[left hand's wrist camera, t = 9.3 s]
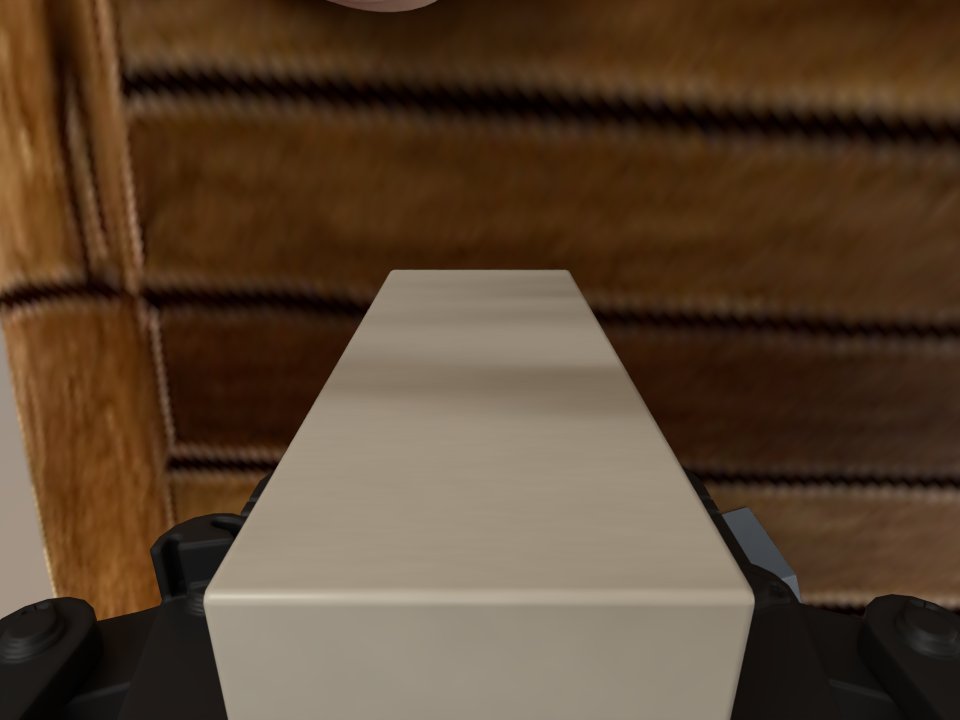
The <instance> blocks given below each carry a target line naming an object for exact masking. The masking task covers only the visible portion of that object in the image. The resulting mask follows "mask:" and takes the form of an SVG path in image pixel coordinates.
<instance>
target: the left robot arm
mask: <svg viewBox="0 0 960 720" xmlns="http://www.w3.org/2000/svg"><path fill="white" fill-rule="evenodd" d="M680 465H681V464H680ZM681 467H682V469H683V471H684V472H685V474H686V476H687V477H688V479H689V481H690V483H691V484H692V486H693V488H694V490H695V491H696V493H697V495H698V497H699V498H700V500H701V502H702V504H703V505H704V507H705V509H706V510H707V512H708V514H709V516H710V517H711V519H712V521H713V523H714V524H715V526H716V528H717V530H718V531H719V533H720V535H721V537H722V538H723V540H724V542H725V544H726V545H727V547H728V549H729V550H730V552H731V554H732V556H733V557H734V559H735V561H736V563H737V564H738V566H739V568H740V570H741V571H742V573H743V575H744V577H745V578H746V580H747V582H748V583H749V585H750V587H751V589H752V591H753V594H754V597H755V605H754V610H753V615H752V619H751V624H750V629H749V634H748V638H747V643H746V648H745V652H744V657H743V662H742V666H741V671H740V676H739V680H738V685H737V690H736V695H735V699H734V704H733V709H732V713H731V718H730V720H960V617H959V616H958V615H956V614H954V613H952V612H950V611H948V610H947V609H945V608H943V607H941V606H939V605H937V604H935V603H932V602H928V601H925V600H922V599H919V598H916V597H913V596H904V595H895V594H890V595H885V596H880V597H876V598H875V599H874V600H872V601H871V602H870V603H869V604H868V605H867V607H866V610H865V614H864V617H863V619H862V618H857V617H853V616H849V615H844V614H840V613H835V612H831V611H827V610H822V609H818V608H815V607H812V606H808V605H805V604H802V603H800V602H799V600H798V598H797V597H796V595H795V594H794V592H793V591H792V589H791V588H790V586H789V585H788V584H787V583H785V582H784V581H783V580H782V579H780V578H779V577H778V576H777V575H776V574H774V573H772V572H770V571H768V570H766V569H764V568H762V567H760V566H758V565H755V564H751V562H750V561H749V559H748V557H747V556H746V554H745V552H744V551H743V549H742V547H741V546H740V544H739V542H738V541H737V539H736V538H735V536H734V534H733V533H732V531H731V529H730V528H729V526H728V524H727V523H726V521H725V519H724V518H723V516H722V515H721V514H719V510H718V508H717V506H716V505H715V503H714V501H713V500H711V499H710V495H709V493H708V492H707V490H706V488H705V487H704V485H703V483H702V482H701V480H700V479H699V478H698V477H697V476H695V475H694V474H693V473H691V472H690V471H689V470H687V469H686V468H685V467H683V466H682V465H681ZM275 470H276V469H275ZM275 470H274V471H273V472H271V473H270V474H269V475H267V476H266V477H265V478H263V479H262V480H261V481H260V482H259V483H258V485H257V487H256V488H255V490H254V492H253V493H252V495H251V497H250V500H249V502H247V503H246V505H245V507H244V508H243V510H242V512H241V516H240V515H236V514H233V513H214V514H209V515H205V516H200V517H195V518H192V519H190V520H188V521H185V522H183V523H181V524H178V525H176V526H174V527H173V528H171V529H170V530H169V531H167V532H166V533H164V534H163V535H162V536H160V537H159V538H158V540H157V541H156V542H155V544H154V545H153V546H152V548H151V549H150V553H151V557H152V561H153V565H154V569H155V573H156V577H157V581H158V585H159V589H160V594H161V598H162V601H161V604H160V605H159V606H156V607H153V608H150V609H147V610H143V611H140V612H135V613H131V614H127V615H122V616H118V617H114V618H109V619H105V620H101V621H97V619H96V615H95V612H94V609H93V608H92V607H91V606H90V605H89V604H88V603H87V602H86V601H85V600H82V599H77V598H72V597H62V598H53V599H46V600H44V601H40V602H37V603H34V604H31V605H28V606H25V607H23V608H21V609H19V610H17V611H15V612H13V613H11V614H10V615H8V616H6V617H4V618H2V619H1V620H0V720H228V716H227V712H226V707H225V702H224V698H223V693H222V688H221V684H220V679H219V674H218V670H217V665H216V660H215V656H214V651H213V647H212V642H211V637H210V633H209V628H208V623H207V619H206V614H205V609H204V605H203V601H204V594H205V591H206V589H207V587H208V585H209V584H210V582H211V580H212V579H213V577H214V575H215V573H216V572H217V570H218V568H219V566H220V565H221V563H222V561H223V560H224V558H225V556H226V554H227V553H228V551H229V549H230V548H231V546H232V544H233V542H234V541H235V539H236V537H237V535H238V534H239V532H240V530H241V529H242V527H243V525H244V523H245V522H246V520H247V518H248V517H249V515H250V513H251V511H252V510H253V508H254V506H255V504H256V503H257V501H258V499H259V498H260V496H261V494H262V492H263V491H264V489H265V487H266V486H267V484H268V482H269V480H270V479H271V477H272V475H273V473H274V472H275Z"/></svg>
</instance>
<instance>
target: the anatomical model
mask: <svg viewBox="0 0 960 720" xmlns="http://www.w3.org/2000/svg"><path fill="white" fill-rule="evenodd" d="M327 1H331V2H334V3H337V4H340V5H344V6H347V7H351V8H356V9H361V10H368V11H377V12H398V11H407V10H413V9H416V8H420V7H424V6H426V5H429V4H431V3H433V2H435V1H437V0H327Z"/></svg>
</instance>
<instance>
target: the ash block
mask: <svg viewBox="0 0 960 720" xmlns="http://www.w3.org/2000/svg"><path fill="white" fill-rule="evenodd" d="M203 605H204V609H205V614H206V619H207V623H208V628H209V633H210V637H211V642H212V647H213V651H214V656H215V660H216V665H217V670H218V674H219V679H220V684H221V688H222V693H223V698H224V702H225V707H226V712H227V716H228V720H730V718H731V713H732V709H733V704H734V699H735V695H736V690H737V685H738V680H739V676H740V671H741V666H742V662H743V657H744V652H745V648H746V643H747V638H748V634H749V629H750V624H751V619H752V615H753V610H754V605H755V597H754V594H753V591H752V589H751V587H750V585H749V583H748V582H747V580H746V578H745V577H744V575H743V573H742V571H741V570H740V568H739V566H738V564H737V563H736V561H735V559H734V557H733V556H732V554H731V552H730V550H729V549H728V547H727V545H726V544H725V542H724V540H723V538H722V537H721V535H720V533H719V531H718V530H717V528H716V526H715V524H714V523H713V521H712V519H711V517H710V516H709V514H708V512H707V510H706V509H705V507H704V505H703V504H702V502H701V500H700V498H699V497H698V495H697V493H696V491H695V490H694V488H693V486H692V484H691V483H690V481H689V479H688V477H687V476H686V474H685V472H684V471H683V469H682V467H681V465H680V464H679V462H678V460H677V458H676V457H675V455H674V453H673V451H672V450H671V448H670V446H669V444H668V443H667V441H666V439H665V438H664V436H663V434H662V432H661V431H660V429H659V427H658V425H657V424H656V422H655V420H654V418H653V417H652V415H651V413H650V411H649V410H648V408H647V406H646V405H645V403H644V401H643V399H642V398H641V396H640V394H639V392H638V391H637V389H636V387H635V385H634V384H633V382H632V380H631V378H630V377H629V375H628V373H627V371H626V370H625V368H624V366H623V365H622V363H621V361H620V359H619V358H618V356H617V354H616V352H615V351H614V349H613V347H612V345H611V344H610V342H609V340H608V338H607V337H606V335H605V333H604V332H603V330H602V328H601V326H600V325H599V323H598V321H597V319H596V318H595V316H594V314H593V312H592V311H591V309H590V307H589V305H588V304H587V302H586V300H585V299H584V297H583V295H582V293H581V292H580V290H579V288H578V286H577V285H576V283H575V281H574V279H573V278H572V276H571V274H570V272H569V271H567V270H393V271H391V272H390V274H389V276H388V277H387V279H386V281H385V282H384V284H383V286H382V288H381V289H380V291H379V293H378V294H377V296H376V298H375V300H374V301H373V303H372V305H371V306H370V308H369V310H368V312H367V313H366V315H365V317H364V319H363V320H362V322H361V324H360V325H359V327H358V329H357V331H356V332H355V334H354V336H353V337H352V339H351V341H350V343H349V344H348V346H347V348H346V350H345V351H344V353H343V355H342V356H341V358H340V360H339V362H338V363H337V365H336V367H335V368H334V370H333V372H332V374H331V375H330V377H329V379H328V381H327V382H326V384H325V386H324V387H323V389H322V391H321V393H320V394H319V396H318V398H317V399H316V401H315V403H314V405H313V406H312V408H311V410H310V412H309V413H308V415H307V417H306V418H305V420H304V422H303V424H302V425H301V427H300V429H299V430H298V432H297V434H296V436H295V437H294V439H293V441H292V443H291V444H290V446H289V448H288V449H287V451H286V453H285V455H284V456H283V458H282V460H281V461H280V463H279V465H278V467H277V468H276V470H275V472H274V473H273V475H272V477H271V479H270V480H269V482H268V484H267V486H266V487H265V489H264V491H263V492H262V494H261V496H260V498H259V499H258V501H257V503H256V504H255V506H254V508H253V510H252V511H251V513H250V515H249V517H248V518H247V520H246V522H245V523H244V525H243V527H242V529H241V530H240V532H239V534H238V535H237V537H236V539H235V541H234V542H233V544H232V546H231V548H230V549H229V551H228V553H227V554H226V556H225V558H224V560H223V561H222V563H221V565H220V566H219V568H218V570H217V572H216V573H215V575H214V577H213V579H212V580H211V582H210V584H209V585H208V587H207V589H206V591H205V594H204V601H203Z"/></svg>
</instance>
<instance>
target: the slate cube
mask: <svg viewBox="0 0 960 720" xmlns="http://www.w3.org/2000/svg"><path fill="white" fill-rule="evenodd" d="M721 515H722V516H723V518H724V519H725V521H726V523H727V524H728V526H729V528H730V529H731V531H732V533H733V534H734V536H735V538H736V539H737V541H738V542H739V544H740V546H741V547H742V549H743V551H744V552H745V554H746V556H747V557H748V559H749V561H750V562H751V564H755V565H758V566H760V567H762V568H764V569H766V570H768V571H770V572H772V573H774V574H776V575H777V576H778V577H779V578H780V579H782V580H783V581H784V582H785V583H787V584H788V585H789V586H790V588H791V589H792V591H793V592H794V594H795V595H796V597H797V598H798V600H799V602H800V603H802V601H801V596H800V591H799V587H798V582H797V577H796V575H795V573H794V572H793V570H792V569H791V567H790V566H789V564H788V563H787V562H786V560H785V559H784V557H783V556H782V554H781V553H780V551H779V550H778V549H777V547H776V546H775V544H774V543H773V541H772V540H771V539H770V537H769V536H768V534H767V533H766V531H765V530H764V528H763V527H762V526H761V524H760V523H759V521H758V520H757V518H756V517H755V516H754V514H753V513H752V511H751V510H750V508H749V507H745V508H741V509H738V510H734V511H731V512H728V513H724V514H721Z"/></svg>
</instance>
